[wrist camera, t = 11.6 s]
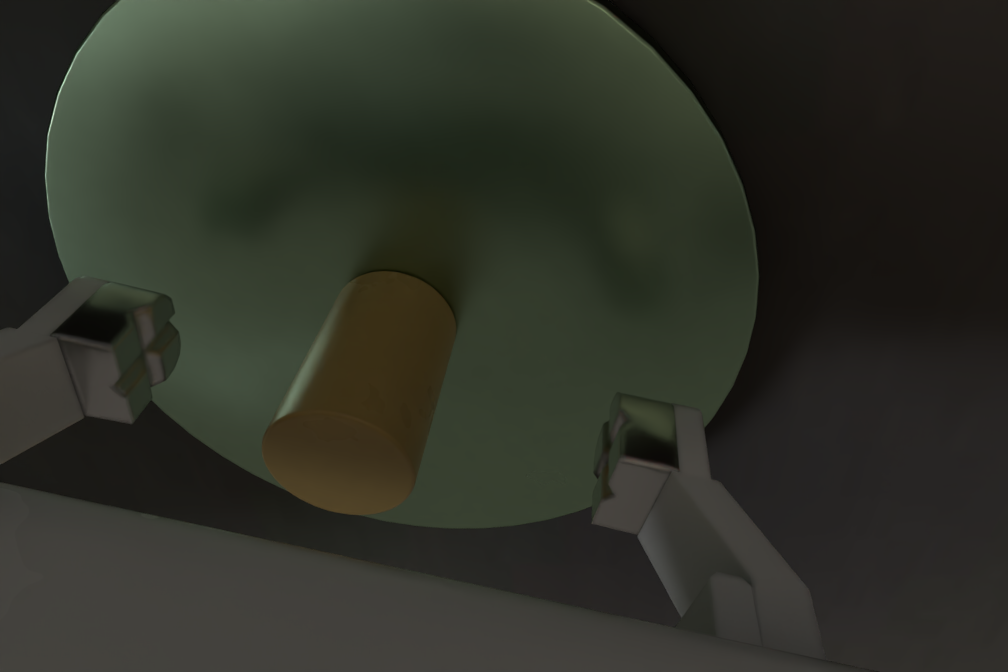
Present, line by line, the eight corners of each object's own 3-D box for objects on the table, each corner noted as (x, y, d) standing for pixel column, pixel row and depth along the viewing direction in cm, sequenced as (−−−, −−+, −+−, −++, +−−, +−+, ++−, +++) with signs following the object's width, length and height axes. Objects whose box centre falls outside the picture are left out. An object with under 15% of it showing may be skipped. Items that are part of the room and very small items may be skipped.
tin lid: (895, 6, 10) (1076, 135, 6) (635, 535, 20) (643, 723, 16) (-23, -180, 10) (-420, -165, 6) (148, 440, 20) (31, 605, 16)
